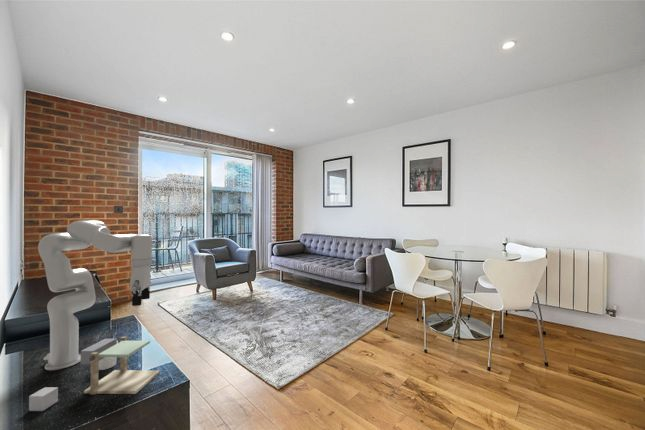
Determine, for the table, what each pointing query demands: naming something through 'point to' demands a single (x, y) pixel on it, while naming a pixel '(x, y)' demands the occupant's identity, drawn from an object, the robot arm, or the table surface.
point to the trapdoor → (112, 349)
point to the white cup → (107, 362)
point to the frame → (118, 378)
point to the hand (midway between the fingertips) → (141, 302)
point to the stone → (43, 399)
